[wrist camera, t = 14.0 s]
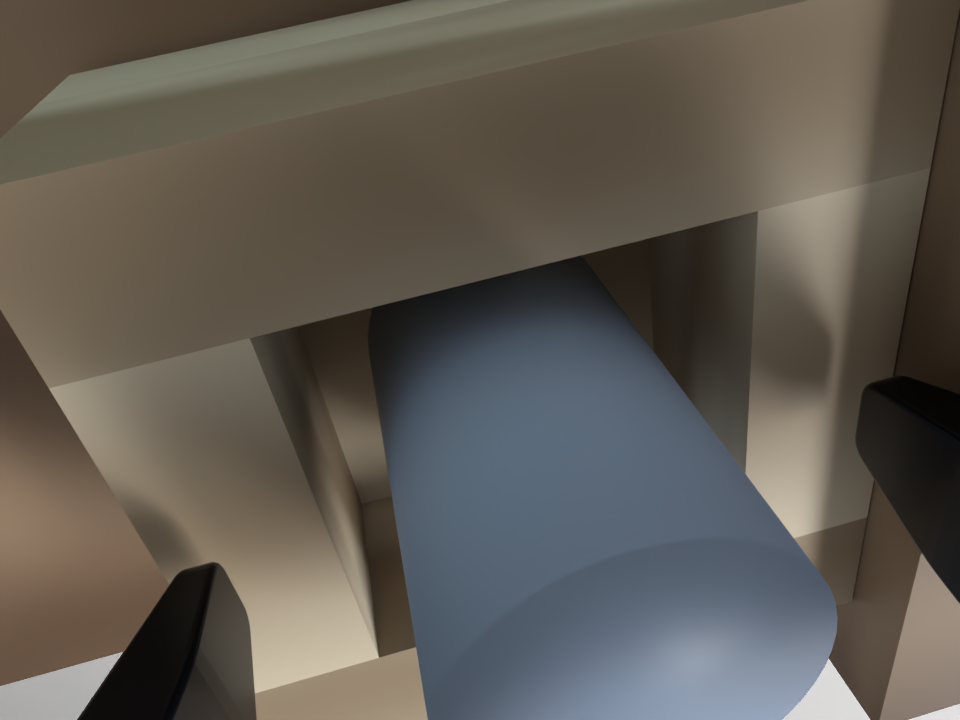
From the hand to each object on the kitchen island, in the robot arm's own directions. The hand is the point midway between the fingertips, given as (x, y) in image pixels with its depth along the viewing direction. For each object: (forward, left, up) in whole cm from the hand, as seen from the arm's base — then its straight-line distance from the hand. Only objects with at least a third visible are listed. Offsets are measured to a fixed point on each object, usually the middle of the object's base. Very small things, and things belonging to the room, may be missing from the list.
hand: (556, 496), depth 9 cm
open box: (0, 0, -5) cm, 5 cm away
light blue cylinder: (0, 0, -4) cm, 4 cm away
